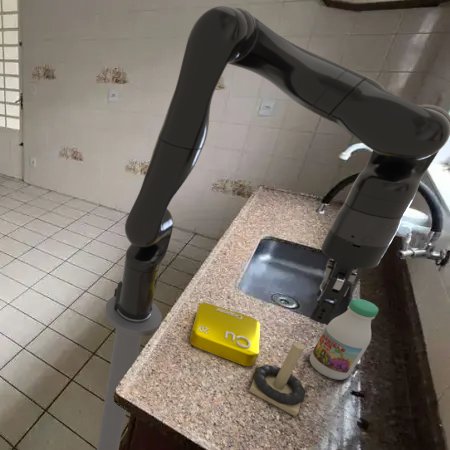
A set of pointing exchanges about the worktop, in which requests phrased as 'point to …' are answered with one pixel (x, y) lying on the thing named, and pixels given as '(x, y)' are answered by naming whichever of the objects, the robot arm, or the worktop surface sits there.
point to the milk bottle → (344, 340)
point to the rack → (282, 379)
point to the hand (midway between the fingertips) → (320, 308)
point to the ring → (277, 396)
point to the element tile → (226, 334)
